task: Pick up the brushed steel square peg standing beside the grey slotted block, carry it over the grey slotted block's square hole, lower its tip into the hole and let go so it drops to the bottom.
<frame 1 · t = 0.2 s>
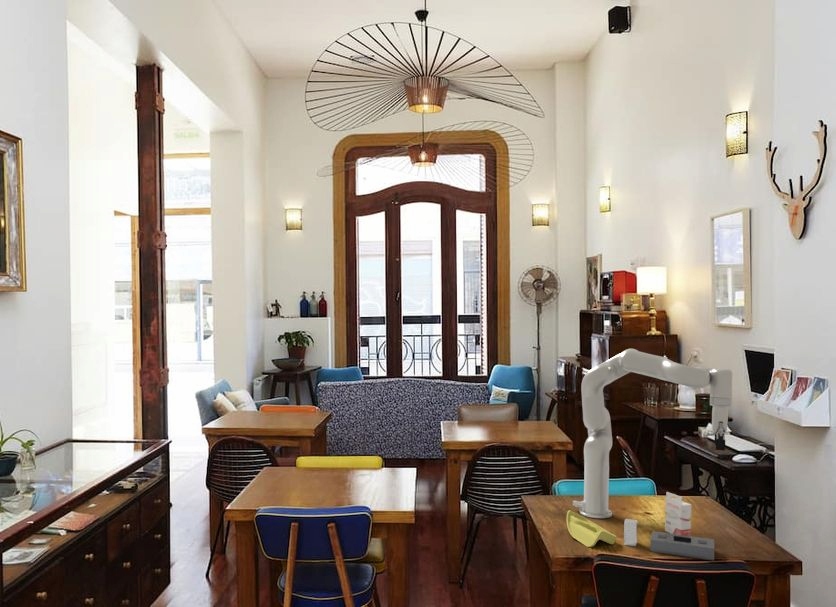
hand: (719, 447, 263), 31 cm above the table, tool pointing down, fingers open, 9 cm apart
grey slotted block: (682, 551, 240), on the table
ink cartridge box: (677, 534, 258), on the table
steel peg: (630, 543, 246), on the table
plastic component: (589, 539, 252), on the table
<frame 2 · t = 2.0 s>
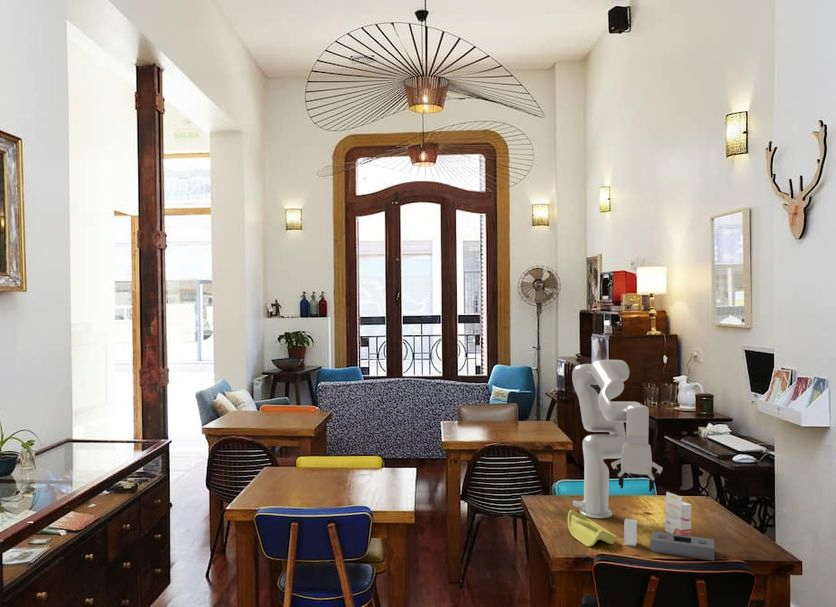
hand: (636, 489, 247), 19 cm above the table, tool pointing down, fingers open, 9 cm apart
nothing on the table moved.
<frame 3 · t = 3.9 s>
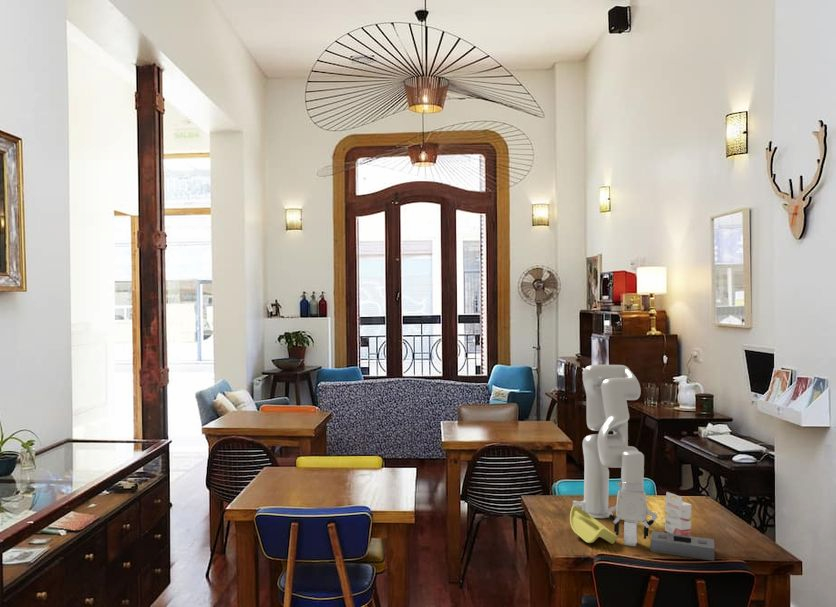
hand: (631, 536, 246), 3 cm above the table, tool pointing down, fingers open, 8 cm apart
plastic component: (590, 535, 252), point 1 cm above the table, touching gripper
everything else where it was.
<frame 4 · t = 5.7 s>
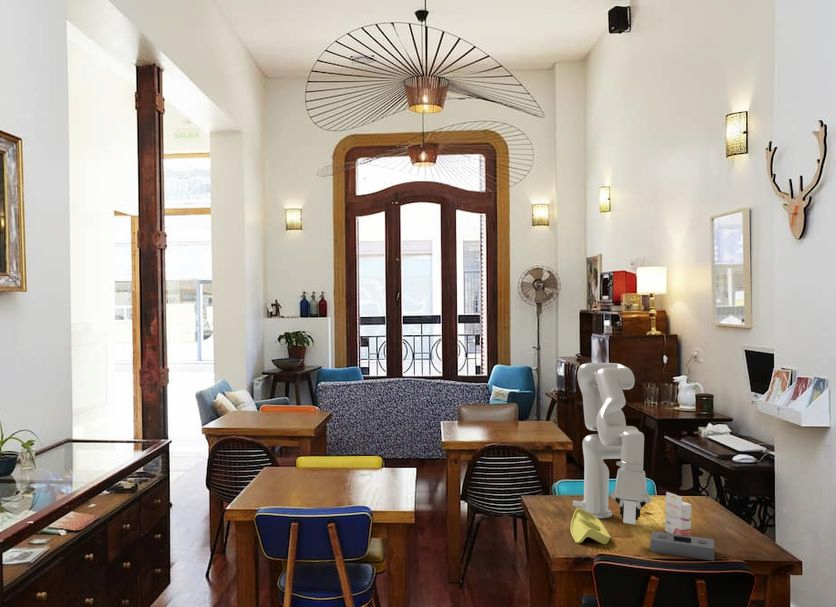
hand: (629, 517, 247), 9 cm above the table, tool pointing down, fingers closed on steel peg, 4 cm apart
steel peg: (629, 521, 247), point 7 cm above the table, touching gripper
plastic component: (589, 537, 254), on the table
everything else where it was.
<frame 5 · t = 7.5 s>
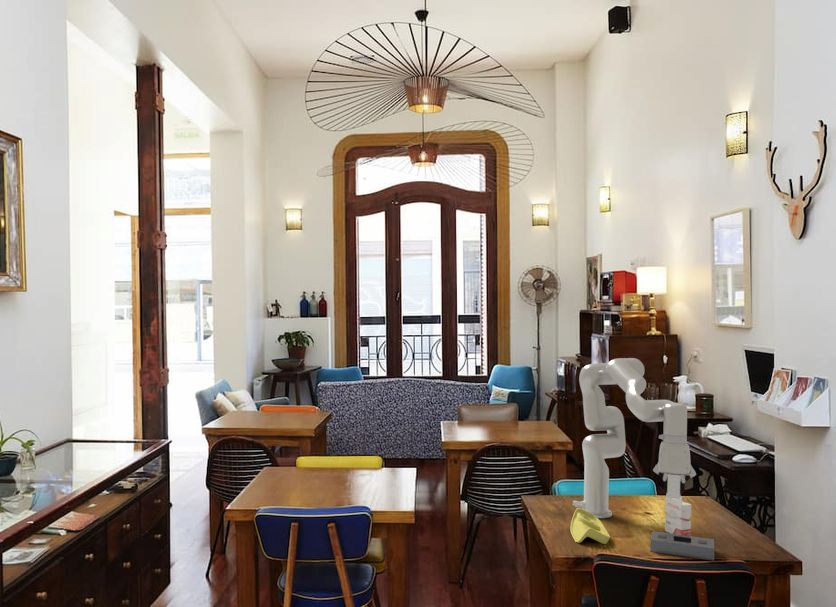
hand: (674, 492, 241), 20 cm above the table, tool pointing down, fingers closed on steel peg, 4 cm apart
steel peg: (673, 496, 241), point 18 cm above the table, touching gripper
everything else where it was.
when the fingers open (5 cm above the table, at t = 10.6 s): steel peg drops 3 cm, resting in grey slotted block.
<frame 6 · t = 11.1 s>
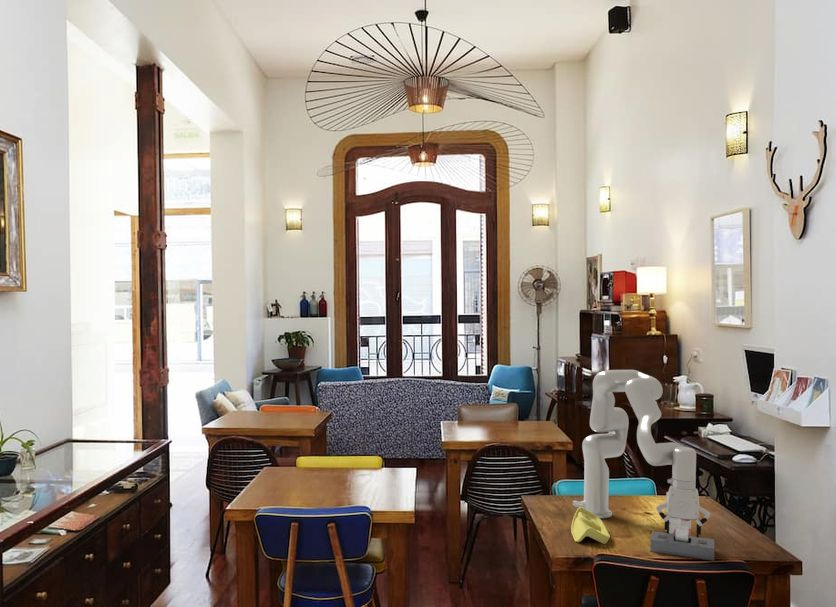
hand: (682, 534, 240), 6 cm above the table, tool pointing down, fingers open, 9 cm apart
steel peg: (681, 551, 240), resting in grey slotted block
everything else where it was.
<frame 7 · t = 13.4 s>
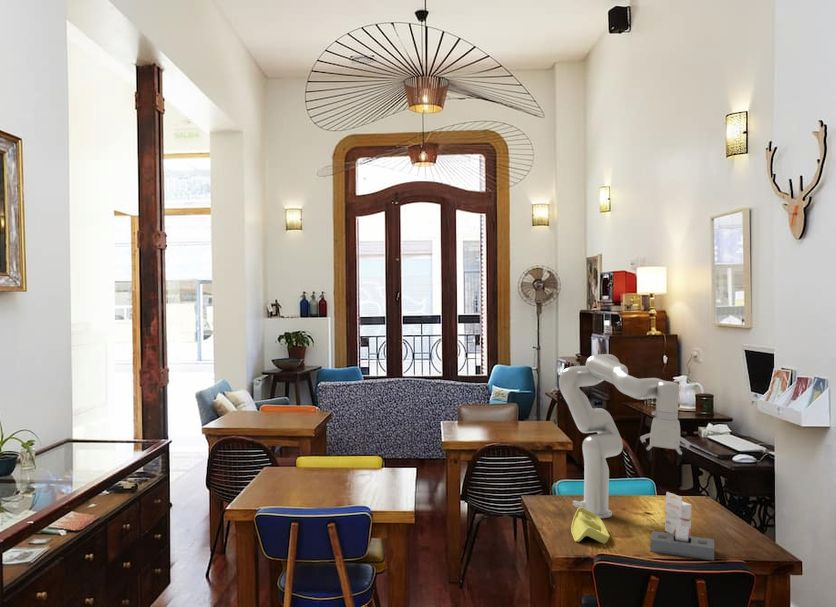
hand: (663, 462, 255), 27 cm above the table, tool pointing down, fingers open, 9 cm apart
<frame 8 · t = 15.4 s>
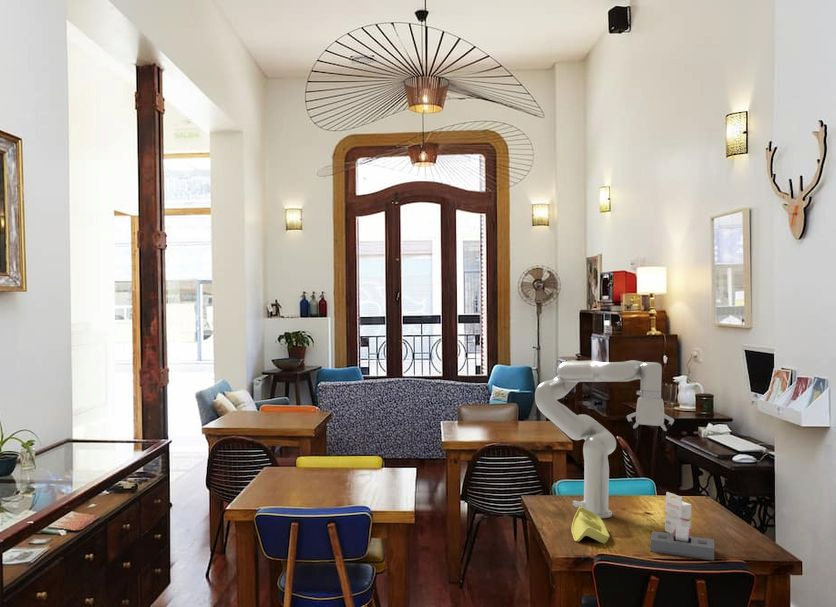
hand: (649, 439, 269), 32 cm above the table, tool pointing down, fingers open, 9 cm apart
at the end: steel peg 0.1 cm off-centre on the grey slotted block, point 0.0 cm above the grey slotted block's base; steel peg tilted 0°; the gripper is holding nothing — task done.
